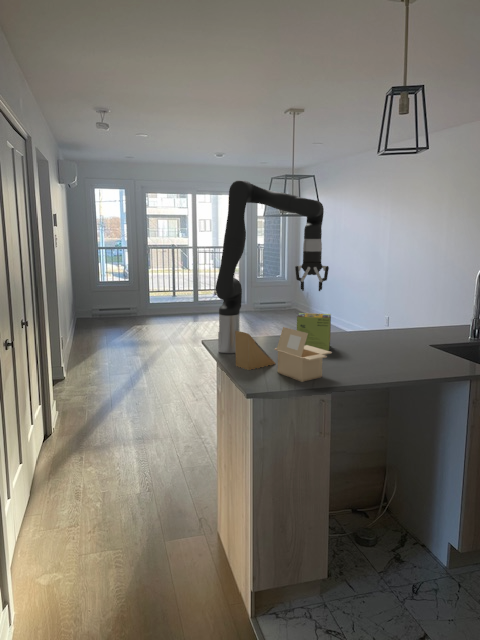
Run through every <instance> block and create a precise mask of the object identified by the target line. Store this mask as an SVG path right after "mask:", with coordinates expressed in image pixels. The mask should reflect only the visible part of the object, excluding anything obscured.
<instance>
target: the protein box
mask: <svg viewBox="0 0 480 640" xmlns="http://www.w3.org/2000/svg"><path fill="white" fill-rule="evenodd" d="M331 322H332V314H331V313H310V312H309V313H306V312H304V313H303V312H300V313H298V314H297V316H296V330H297V331H301V332H305V333H308V335H307V339H306V342H305V345H309V346H312V347H316V348H319V349H323V350H326V351H330V347H331V346H330V345H331V327H332V323H331Z"/></svg>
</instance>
